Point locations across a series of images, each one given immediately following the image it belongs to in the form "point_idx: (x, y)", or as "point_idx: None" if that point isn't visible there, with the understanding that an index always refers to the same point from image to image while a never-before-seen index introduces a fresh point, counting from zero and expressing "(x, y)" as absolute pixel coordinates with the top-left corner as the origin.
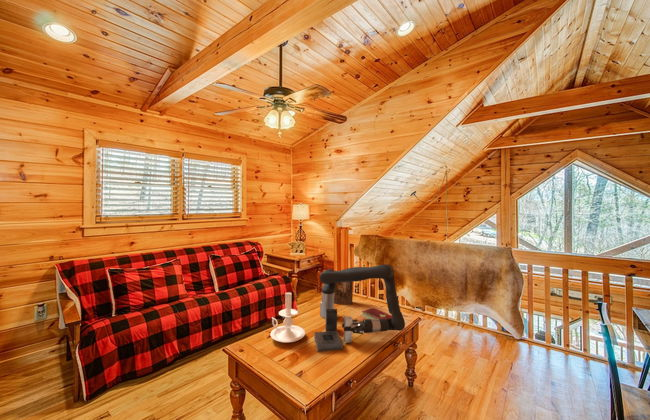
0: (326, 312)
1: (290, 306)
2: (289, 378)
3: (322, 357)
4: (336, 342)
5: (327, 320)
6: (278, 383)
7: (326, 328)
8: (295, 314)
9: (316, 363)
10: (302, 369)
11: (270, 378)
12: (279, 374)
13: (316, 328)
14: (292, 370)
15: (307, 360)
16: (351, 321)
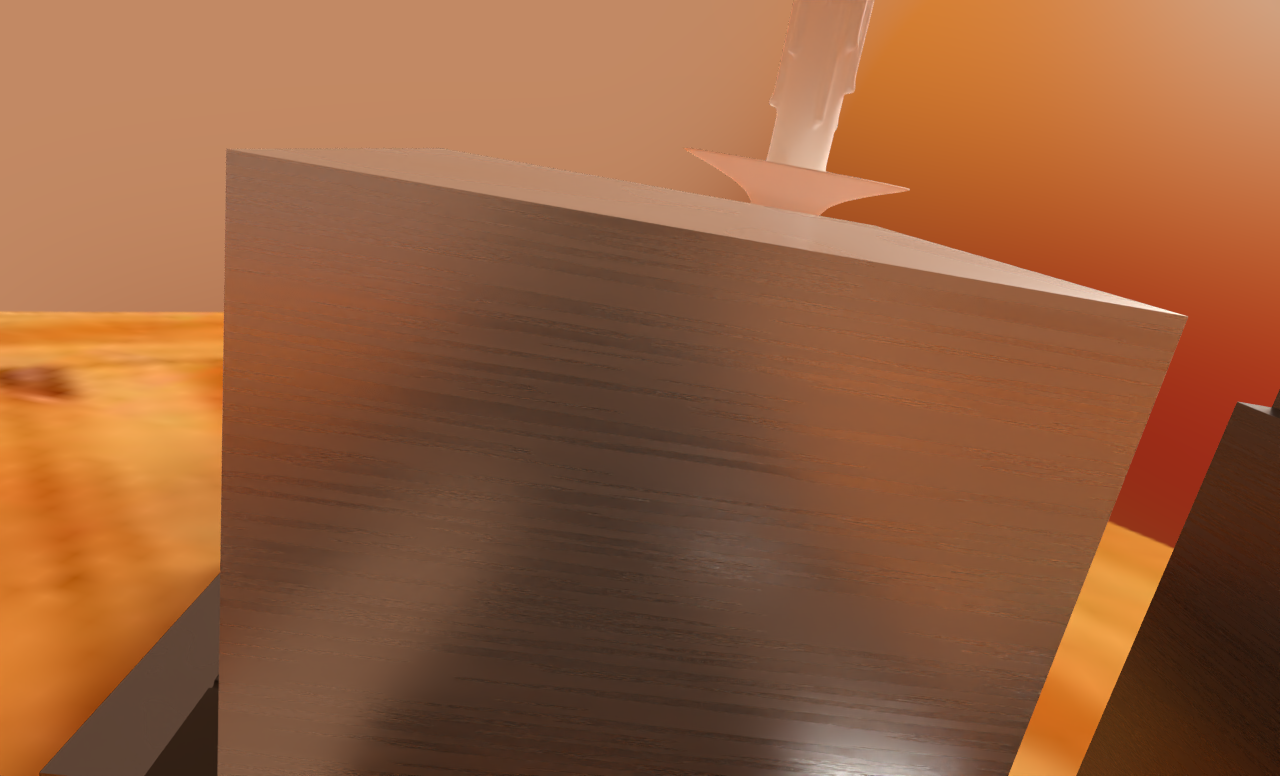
0: (1262, 407)
1: (805, 80)
2: (43, 344)
3: (132, 555)
4: (204, 647)
5: (1177, 611)
6: (54, 315)
7: (1089, 771)
8: (753, 160)
9: (56, 483)
10: (79, 400)
11: (160, 313)
12: (162, 334)
13: (1094, 699)
14: (139, 370)
15: (207, 451)
16: (262, 435)
